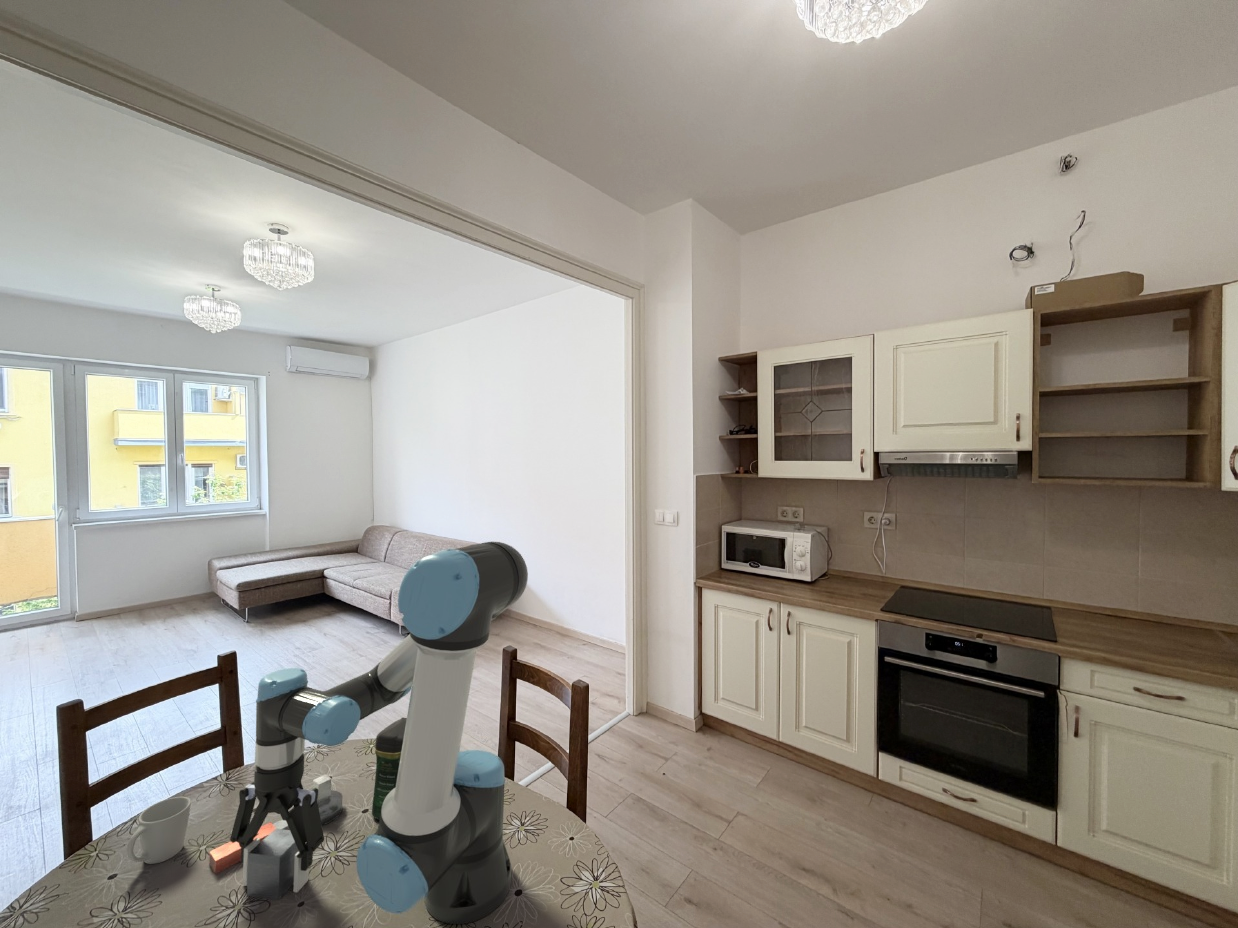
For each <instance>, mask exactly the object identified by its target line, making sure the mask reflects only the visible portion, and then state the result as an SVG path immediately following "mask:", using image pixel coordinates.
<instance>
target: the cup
mask: <svg viewBox="0 0 1238 928" xmlns="http://www.w3.org/2000/svg"><path fill="white" fill-rule="evenodd" d="M191 805H192V800H191V799H190V798H189V797H187V796H176V797H175V796H174V797H170V798H167V799H163V800H161V801H159V802H158V801H157V802H156V803H154V804H152V805H150V806H149V807H147V808H145V809H144V810H143V811H142V812H141V813H140V815H139V816H138V817H137V818H138V821H137V822H138V828H137V829H136V831H134V833H133V834H132V836H131V837H129V841H128V843H127V847H126V855H127V858H128V859H129V860H130V861H132V862H134V863H141V862H144V863H145V864H148V865H152V864H159V863H162V862H165V861H168V860H170V859H172V858H173V857H174V856H176V855H177V854H178V853H180V852H181V850H182V849H183V848H184V844H185V839H186V834H187V828H188V823H189V819H190V818H189V817H190V812H191ZM139 838H140V839H139ZM137 839H139V840H140V846H141V855H139V856H136V855H135V853H134V847H135V843H136V841H137Z"/></svg>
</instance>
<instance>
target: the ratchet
mask: <svg viewBox="0 0 1238 928" xmlns="http://www.w3.org/2000/svg"><path fill="white" fill-rule="evenodd" d="M314 788H317V789H318V799H317V802H318V808H319V813H320V818H321V824H322V826H323V825H326V824H329V823H331V822H332V821H334V820H335V819H337V818H338V816H339V815H340V814H341V812H342V811H343V795H342V793H341V791H338V790H333V789H332V778H331V777H330V776H329V775H327V773H326V774H325V773H324V774H323V775H321V776H319V777H317V778H314V779H313V780H312V789H314ZM275 829H283V830H290V829H289V827H288V824H287V822H286V820H283V819H282V818H281V819H280V820H278V821H276V822H274V823H272V822H268V823H265V824H263V825H262V826H261V828H260V830H259V831H258V833H259V834H258V833H257V834H258V835H257V836H256V837H255V838H254V840H255V839H256V838H260V842H261V841H262V840H264V839H265V838H266V837H267V836H268V835H269V834H270V833H271V832H272V831H274V830H275ZM208 858H209V859H208V861H209V863H208V865H209V867H210V868H211V870H212V871H213V873H214V874H215V875H216V874H218V873H220V872H222V871H225V870H226V869H227V868H230V867H231V866H233V865H235V864H237V863H239V862H241V847H240V846H239V843H238V842H235V843H232V842H231V841H229V842H227V843H224V844H223V845H220V846H218V847H216V848H213V849H212V850H210V851H209V857H208Z"/></svg>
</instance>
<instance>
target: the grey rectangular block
mask: <svg viewBox="0 0 1238 928" xmlns="http://www.w3.org/2000/svg"><path fill="white" fill-rule="evenodd" d="M298 851H299V850H298V848H297V846H296V843H295V841H294V839H293V836H292V834H291V831H290V830H283V829H275V830H274V831H272V832H271V833H270V834H269V835H268V836H267V837H266V838H265V839H264V840H262V841H261V842H260V843H259V844H258V845H257V846H256V847H255V848H254V849H252V850H251V851H250V852H249V853H248V880H247V886H246V896H247V897H253V898H260V899H267V900H268V899H269V900H274V901H279V900H280V899H281V897H282V896H284V894H286V892H287V891H288V890H289V889H290V888H291V887H292V886H293V885H294V862H295V854H296V853H297V852H298Z"/></svg>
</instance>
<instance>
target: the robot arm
mask: <svg viewBox="0 0 1238 928" xmlns="http://www.w3.org/2000/svg"><path fill="white" fill-rule="evenodd" d="M528 575H529V573H528V567H527V564H526V561H525V559H524V557H523V555H522V554H521V553H520V552H519V551H518V550H517V549H516V548H515V547H514V546H512V545H509V544H507V543H504V542H500V541H486V542H482V543H478V544H473V545H469V546H462V547H459V548H447V549H443V550H440V551H439V550H438V551H437V552H435V553H433V554H429V555H426V556H424V557H422V558H420V559H419V560H418V561H416V562H414V564H412V565H411V566H410V567H409V569H407V572H406V573H405V574H404V577H403V578H402V581H401V583H400V585H399V590H398V595H397V608H398V613H400V614H402V618H401V622H402V624H403V625H404V627H405V628H406V629H407V631H408V632H409V634H408V635H407V636H406V637H405V638H404V639H403V640H402V641H401V642H400V643H399V644H398V645H396V646H395V647H394V648H393V649H392V650H391V651H390V652H389V653H388V654H387V655H386V656H385V657H383V658H382V660H381V661H380V662H378V663H377V664H376V665H375V666H374V667H373V668H372V669H370V670H369V671H367V672H365V673H362V674H361V675H359V676H356V677H354V678H352V679H349V680H347V681H345V682H343V683H340V684H338V685H336V686H333V687H332V688H330V689H327V690H326V689H325V690H319V689H316V688H312V687H308V683H309V681H308V674H307V672H306V671H305V670H304V669H302V668H297V667H295V668H293V667H291V668H284V669H283V668H282V669H279V670H276V671H273V672H270V673H268V674H266V675H265V676H263V677H262V678H261V679H260V680H259V683H258V687H257V688H258V690H257V698H256V700H255V703H256V708H255V710H256V712H255V715H256V716H255V720H256V721H255V722H256V724H255V747H254V748H255V749H254V750H255V752H254V764H255V765H254V774H253V776H254V778H253V781H251V782H249V784H247V785H246V786H244V787H243V788H242V789H240V790H239V793H238V795H239V805H238V809H237V811H236V815H235V820H234V822H233V827H232V831H231V833H230V838H229V840H230V841H231V842H232V843H235V842H238V843H239V846H240V847H241V861H240V863H241V864H243V866H242V886H244V887H245V886H246V887H247V880H248V853H249V852H250V851H251V850H252V849H254V848H255V847H256V846H257V845H258V844H259V843H260V838H256V839H255V840H254V838H255V837H256V836H257V835H258V834H259V833H258V831H259V830H260V828H261V827H262V826H263V825H264V822H265V820H266V819H267V817H268V814H272V813H275V814H277V815H280V817H281V820H282V819H283V820H286V822H287V824H288V827H289V829H290V831H291V834H292V836H293V839H294V841H295V843H296V846H297V848H298V850H299V851H298V852H297V853H296V854H295V862H294V883H293V893H299V891H300V890H301V889H302V888H303V887H304V885H306V883H307V882H308V881H309V875H310V871H309V870H310V867H311V866H312V864H313V857H314V856H313V855H314V852H315V851H316V849H318V848H319V847H320V846H321V845H322V844H323V842H324V841H325V835H324V830H323V825H322V824H321V818H320V813H319V808H318V802H317V799H318V789H317V788H314V789H313V788H312V789H311V790H307V789H304V786H303V784H302V780H303V776H304V773H305V753H304V752H305V747H306V746H305V744H306V742H305V741H308V742H309V743H312V744H314V745H315V744H316V745H323V746H327V747H334V746H339V745H340V744H343V743H344V742H346V741H347V740H348V739H349V737H350V736H351V735H352V734H353V733H354V732H355V731H356V730H357V728H358V726H359V723H360V721H361V720H363V719H365V718H367V717H368V716H370V715H372V714H374V713H376V712H378V711H380V710H381V709H383V708H386V707H387V706H389V705H392V704H395V703H397V702H398V701H399V700H401V699H402V698H404V697H405V696H406V695H408V694H409V693H410V697H409V703H408V709H407V715H406V718H407V720H406V726H405V733H404V739H403V745H402V751H401V757H400V763H399V770H398V776H397V782H396V787H395V788H394V789H393V790H392V791H391V792H390V793H389V794H388V795H387V796H386V798H385V800H384V802H383V805H382V809H381V815H380V820H379V822H378V827H377V829H376V831H375V832H374V833H372V834H370V835H368V836H367V837H366V838H365V839H364V841H363V842H362V843H361V844H360V846H359V848H358V850H357V853H356V859H355V860H356V861H355V862H356V871H357V876H358V879H359V881H360V884H361V885H362V887H363V889H364V891H365V893H366V895H368V898H370V900H371V901H372V902H373V903H374V904H375V905H376V906H377V907H378V908H380V909H381V910H383V911H385V912H387V913H391V914H393V915H394V914H396V915H397V914H399V915H400V914H402V913H406V912H409V911H410V910H411V909H412V908H414V907H415V906H416V905H417V904H418V903H419V902H420V901H421V900H423V899H424V906H425V907H426V910H427V912H428V913H429V915H431V917H433V918H434V919H436V920H437V921H440V922H442V923H445V924H451V925H452V924H453V925H463V924H468V923H472V922H475V921H478V920H481V919H482V918H483V919H484V917H487V916H488V915H490V914H491V913H493V912H494V911H496V909H497V908H498V907H500V905H501V904H502V903H503V902H504V900H505V899H506V898H507V897H508V896H507V895H508V894H509V892H510V888H511V884H512V863H511V859H510V856H509V854H508V850H507V847H506V844H505V841H504V837H503V835H504V832H503V831H504V807H505V803H504V802H505V784H506V778H505V765H504V763H503V760H502V759H501V758H500V757H499V756H498V755H496V754H495V753H492V752H490V751H487V750H481V749H480V750H479V749H469V750H463V751H460V749H461V746H462V745H461V743H462V739H463V731H464V725H465V719H466V715H467V714H466V713H467V708H468V701H469V697H470V690H471V684H472V679H473V672H474V665H475V660H476V654H477V651H478V650H479V649H480V648H482V647H483V646H485V645H486V644H487V642H488V641H489V637H490V631H491V626H492V621H493V620H495V619H496V618H497V617H498V616H500V615H501V614H502V613H503V612H504V611H506V610H507V609H508V608H509V607H511V606H512V605H514V604H515V603H516V602H517V601H519V600H520V598H521V597H522V595H523V594H524V592H525V590H526V588H527V584H528V578H529V577H528ZM256 801H258V805H257V806H256V809H255V808H254V807H255V804H256ZM254 809H255V810H254ZM253 810H254V811H253ZM252 815H253V816H252ZM257 833H258V834H257ZM230 841H229V842H230Z"/></svg>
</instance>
